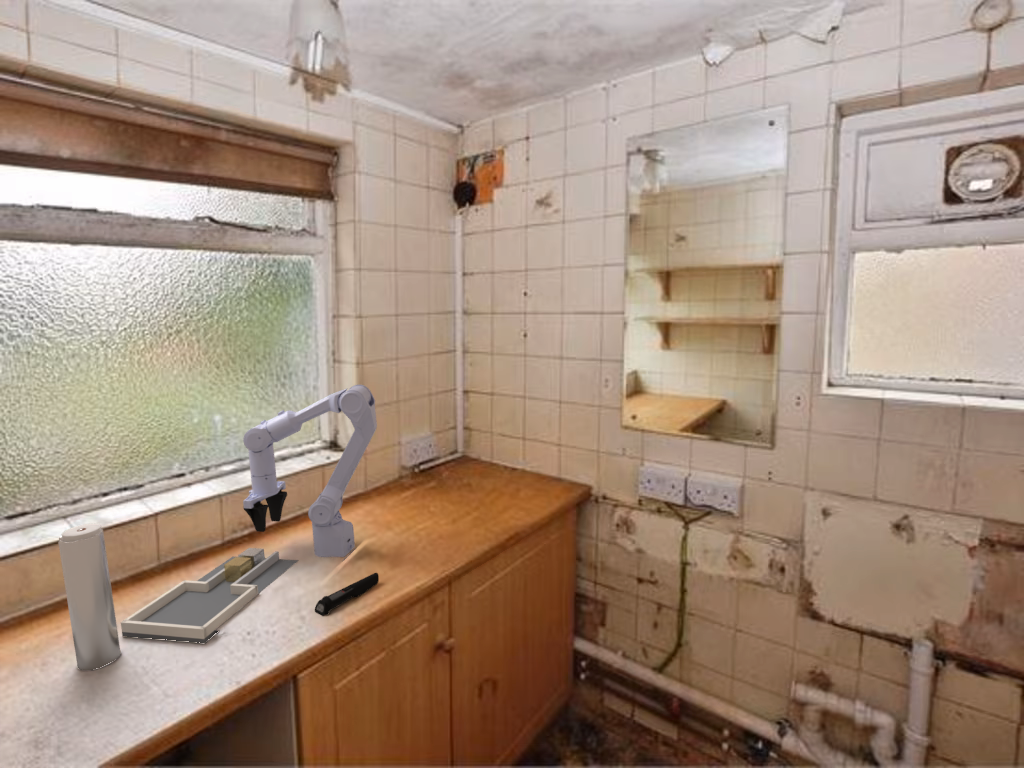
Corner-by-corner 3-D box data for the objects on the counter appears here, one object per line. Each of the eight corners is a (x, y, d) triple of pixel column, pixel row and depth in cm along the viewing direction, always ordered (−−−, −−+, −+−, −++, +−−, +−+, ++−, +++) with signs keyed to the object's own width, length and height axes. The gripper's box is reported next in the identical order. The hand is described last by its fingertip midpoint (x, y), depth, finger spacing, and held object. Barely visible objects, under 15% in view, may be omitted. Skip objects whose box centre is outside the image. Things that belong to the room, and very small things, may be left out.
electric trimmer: (383, 587, 128) (382, 574, 128) (324, 618, 116) (323, 603, 115) (372, 582, 130) (371, 569, 130) (313, 612, 118) (312, 598, 118)
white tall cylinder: (92, 650, 107) (73, 523, 103) (128, 647, 107) (110, 521, 104) (68, 672, 100) (47, 537, 97) (107, 669, 101) (87, 535, 97)
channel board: (298, 564, 140) (297, 552, 139) (204, 643, 108) (202, 629, 107) (233, 560, 143) (231, 548, 143) (122, 636, 111) (120, 622, 111)
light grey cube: (265, 564, 138) (263, 548, 137) (255, 572, 134) (253, 556, 134) (250, 563, 139) (248, 547, 138) (239, 571, 135) (238, 555, 134)
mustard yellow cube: (252, 574, 133) (250, 557, 133) (241, 582, 129) (239, 565, 129) (237, 573, 134) (235, 557, 133) (225, 581, 130) (224, 564, 129)
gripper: (266, 464, 148) (271, 514, 150) (229, 482, 134) (235, 537, 136) (291, 465, 147) (295, 515, 149) (256, 483, 133) (262, 538, 135)
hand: (268, 525), depth 143 cm, fingers open, 6 cm apart
